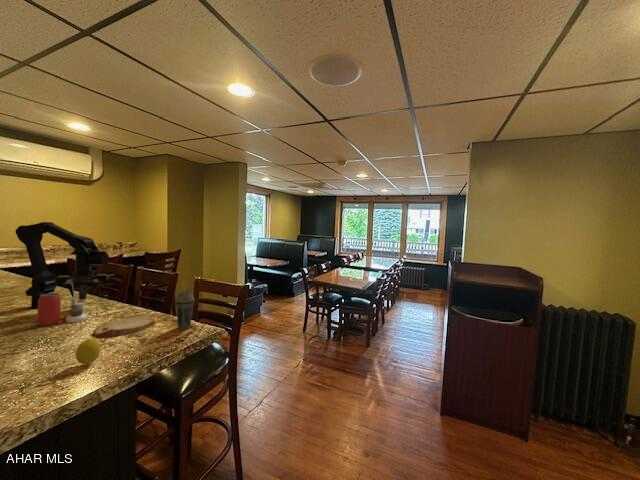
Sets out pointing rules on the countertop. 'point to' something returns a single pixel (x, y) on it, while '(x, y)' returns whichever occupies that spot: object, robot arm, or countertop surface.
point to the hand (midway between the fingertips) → (82, 296)
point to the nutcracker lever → (77, 307)
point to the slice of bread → (123, 326)
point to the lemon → (87, 352)
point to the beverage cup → (184, 309)
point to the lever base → (76, 318)
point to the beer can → (49, 309)
